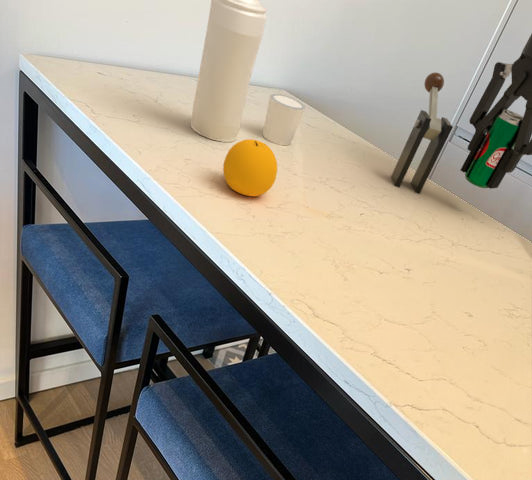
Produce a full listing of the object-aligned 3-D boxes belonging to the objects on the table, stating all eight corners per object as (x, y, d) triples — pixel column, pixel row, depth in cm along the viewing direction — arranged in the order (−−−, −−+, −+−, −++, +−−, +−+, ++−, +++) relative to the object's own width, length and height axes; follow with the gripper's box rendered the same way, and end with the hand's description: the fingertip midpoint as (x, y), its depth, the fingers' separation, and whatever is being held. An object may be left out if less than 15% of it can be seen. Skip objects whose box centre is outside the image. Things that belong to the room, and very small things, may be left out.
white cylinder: (270, 145, 104) (282, 106, 99) (252, 129, 108) (263, 91, 103) (300, 148, 107) (313, 111, 103) (282, 132, 111) (293, 95, 107)
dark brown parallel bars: (378, 175, 109) (410, 102, 101) (416, 187, 110) (451, 116, 102) (385, 197, 101) (421, 120, 93) (426, 209, 103) (465, 134, 94)
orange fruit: (277, 206, 85) (293, 158, 80) (227, 200, 81) (241, 150, 77) (259, 180, 90) (273, 134, 85) (212, 174, 86) (224, 125, 82)
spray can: (252, 151, 99) (299, -12, 83) (196, 145, 93) (235, -31, 78) (225, 123, 106) (264, -33, 90) (172, 116, 100) (203, -51, 85)
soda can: (476, 188, 97) (515, 119, 90) (457, 174, 100) (494, 106, 93) (495, 190, 100) (535, 123, 93) (476, 176, 103) (513, 110, 96)
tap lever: (421, 80, 105) (430, 65, 102) (438, 86, 105) (447, 71, 102) (417, 138, 99) (427, 124, 96) (435, 144, 100) (445, 130, 97)
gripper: (498, 10, 87) (427, 155, 102) (604, 56, 79) (511, 207, 93) (519, 17, 92) (449, 154, 106) (622, 61, 84) (531, 203, 98)
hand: (478, 178), depth 100 cm, fingers closed on soda can, 5 cm apart
